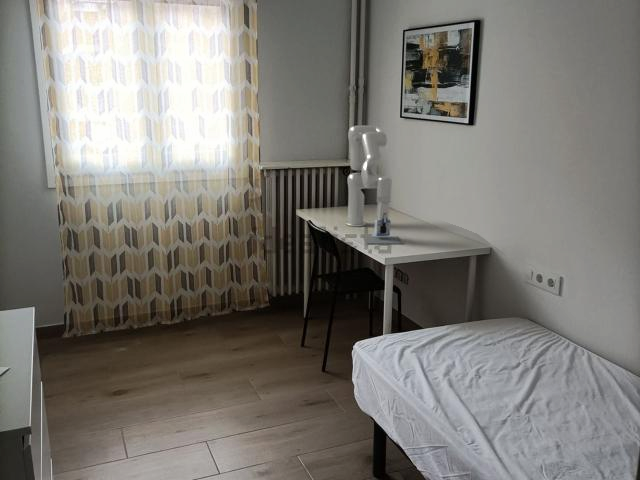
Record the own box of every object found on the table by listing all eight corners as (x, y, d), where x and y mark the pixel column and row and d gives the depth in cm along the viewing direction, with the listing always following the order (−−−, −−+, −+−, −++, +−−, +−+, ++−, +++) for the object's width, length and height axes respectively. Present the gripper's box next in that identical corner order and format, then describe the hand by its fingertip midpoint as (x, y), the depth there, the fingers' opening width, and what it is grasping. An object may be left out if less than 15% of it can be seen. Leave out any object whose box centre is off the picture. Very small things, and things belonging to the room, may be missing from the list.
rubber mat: (363, 237, 337) (363, 236, 337) (398, 237, 339) (398, 236, 338) (367, 244, 323) (367, 243, 322) (404, 244, 324) (404, 243, 324)
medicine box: (376, 236, 331) (376, 220, 329) (373, 234, 335) (374, 218, 333) (390, 235, 333) (390, 220, 330) (387, 233, 337) (388, 218, 335)
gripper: (374, 196, 337) (373, 228, 341) (379, 202, 320) (378, 235, 325) (387, 196, 337) (386, 228, 342) (393, 202, 321) (391, 235, 326)
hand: (382, 231), depth 333 cm, fingers closed on medicine box, 4 cm apart
